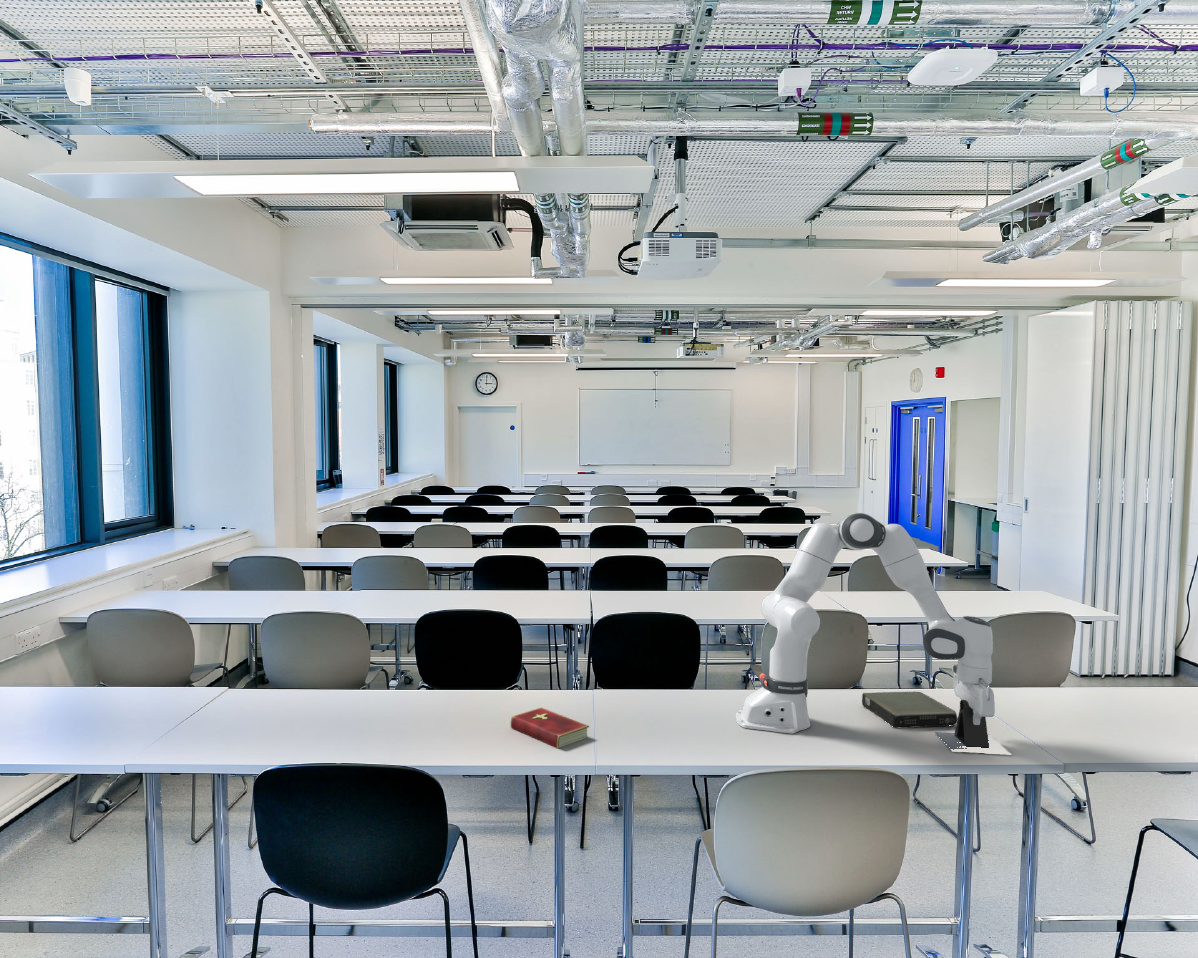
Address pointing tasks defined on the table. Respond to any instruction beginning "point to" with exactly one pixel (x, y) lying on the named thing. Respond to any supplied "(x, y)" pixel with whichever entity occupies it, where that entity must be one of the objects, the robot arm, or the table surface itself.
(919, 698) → the network switch
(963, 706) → the black slotted holder
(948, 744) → the rubber mat
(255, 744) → the table surface
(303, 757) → the table surface
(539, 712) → the hardcover book
